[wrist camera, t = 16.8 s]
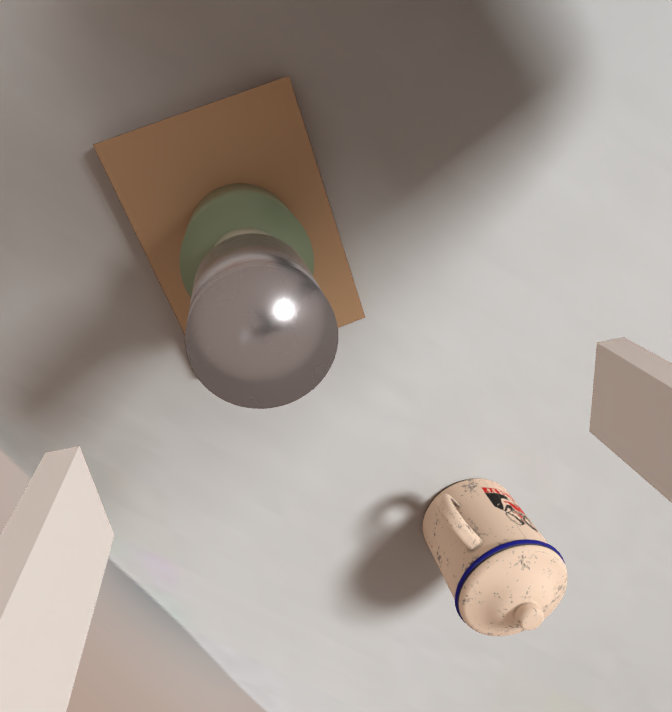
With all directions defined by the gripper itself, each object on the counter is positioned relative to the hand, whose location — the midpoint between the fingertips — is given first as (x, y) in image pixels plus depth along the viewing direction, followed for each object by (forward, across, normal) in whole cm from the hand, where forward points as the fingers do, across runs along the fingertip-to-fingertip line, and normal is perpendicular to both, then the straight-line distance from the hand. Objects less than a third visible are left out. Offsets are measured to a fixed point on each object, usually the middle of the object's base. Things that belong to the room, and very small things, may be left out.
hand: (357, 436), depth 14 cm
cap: (+12, -2, +1) cm, 12 cm away
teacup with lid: (+25, +12, -26) cm, 38 cm away
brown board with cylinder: (+25, -2, 0) cm, 25 cm away
